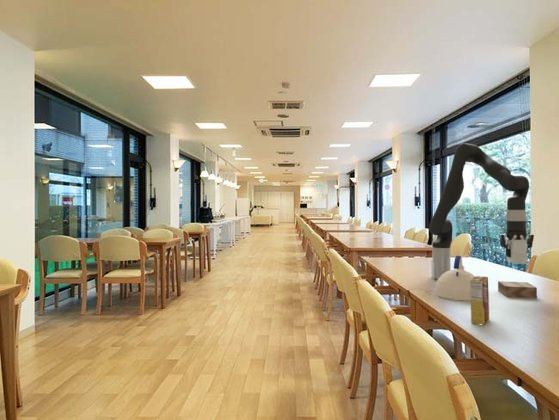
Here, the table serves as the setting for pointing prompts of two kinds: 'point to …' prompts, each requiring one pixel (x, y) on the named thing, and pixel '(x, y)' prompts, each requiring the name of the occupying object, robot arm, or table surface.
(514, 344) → the table surface
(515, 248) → the small box
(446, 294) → the kettle
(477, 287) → the candy box
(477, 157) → the robot arm
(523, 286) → the walnut block
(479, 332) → the table surface
